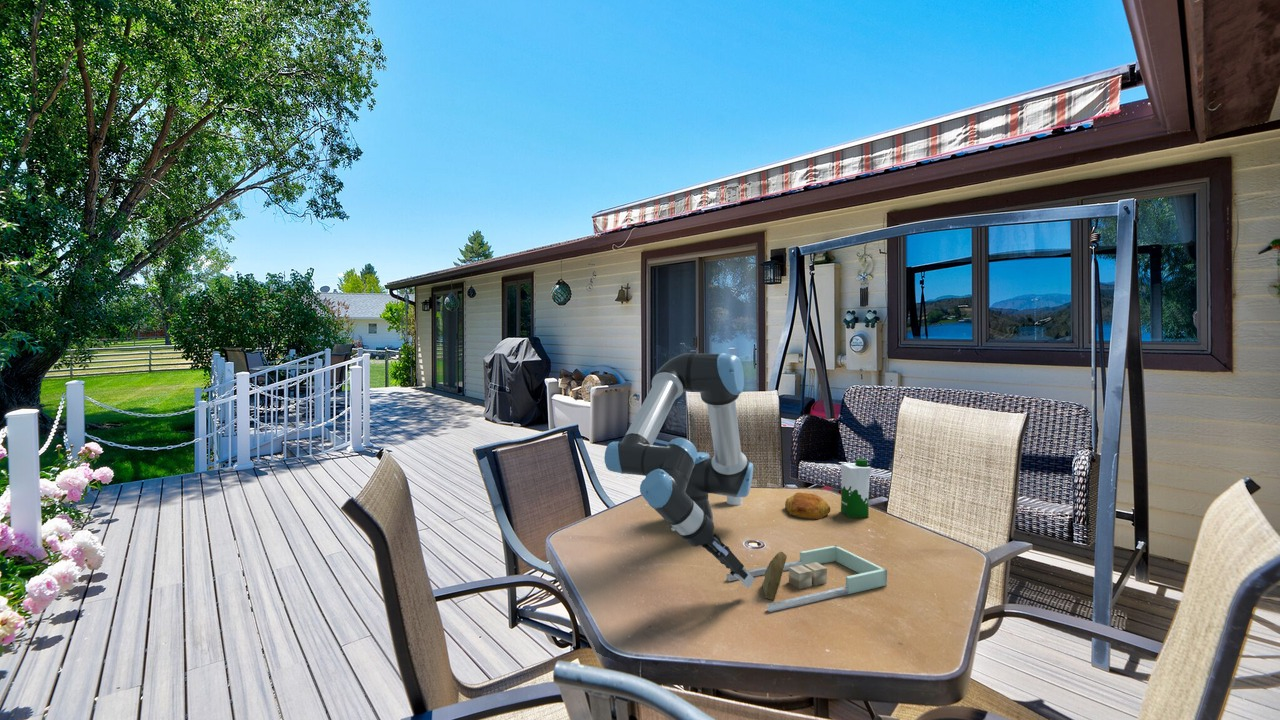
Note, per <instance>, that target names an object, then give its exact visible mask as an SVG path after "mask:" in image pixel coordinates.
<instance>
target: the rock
mask: <svg viewBox="0 0 1280 720" xmlns="http://www.w3.org/2000/svg"><path fill="white" fill-rule="evenodd" d="M787 557H788V556H787V554H786V553H785V552H783V551H780V552H777V553H776V554H775V555H774V557H772V559H771V560H770V562H769V563H768V566H766V567H767V569H766V571H765V575H764V579H763V582H762V585H761V586H762V590H763V593H764V598H765V599H769V600H772V601H774V600H775V599H776V595H777V592H778V590H779V587H780V585H781V580H782V577H783V572H784V571H783V569H784V565H785V563H787V559H788V558H787Z"/></svg>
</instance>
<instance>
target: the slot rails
mask: <svg viewBox="0 0 1280 720" xmlns="http://www.w3.org/2000/svg"><path fill="white" fill-rule="evenodd" d="M799 565H802V562H801V561H800V560H797V561H790V562H785V565H784V569H783V572H786V571H789V567H794V566H799ZM767 567H768V566H765V567H759V568H753V569H749V570H747V571H748V572H749V573H750V575H751V576H752V577H753V578H755V577H759V576H765V571H766V569H767ZM726 581H727V582H733V581H740V580H739V579H738V578H737V577H736V576H735V575H731V574H730V573H728V574H726ZM848 592H849V588H847V587H846V585H844V586H842V587H837V588H832V589H828V590H823V591H820V592H814V593H811V594H805V595H801V596H796V597H792V598H787V599H784V600H779V601H774V602H771V603H767V604H766V611H767V612H769V613H773V612H777V611H781V610H786V609H789V608H795V607H798V606H803V605H808V604H812V603H815V602H819V601H825V600H829V599H834V598H838V597H841V596H847V595H849V594H848Z"/></svg>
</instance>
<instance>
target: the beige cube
mask: <svg viewBox="0 0 1280 720" xmlns="http://www.w3.org/2000/svg"><path fill="white" fill-rule="evenodd" d="M804 567H806V568H807V569H809V570H811V571H812V586H818V585H824V584H827V583H828V581H827V579H828V568H827V567H826V566H824V565H822V564H819V563H817V562H815V563H809V564H804Z"/></svg>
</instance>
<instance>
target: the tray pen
mask: <svg viewBox="0 0 1280 720" xmlns="http://www.w3.org/2000/svg"><path fill="white" fill-rule="evenodd" d="M799 561H801V562H802V566H804V564H809V563H815V562H817V563H819V564H821V565H822V564H826V563H831V562H837V563H838V564H841V565H842V566H845V567H847V568H848V569H850V570H852V571H854V572H856V573H857V574H852V575H848V576H846V577H845V586H846V587H847V588H849V592H848V594H847V595H850V594H855V593H858V592H860V593H861V592H863V591H867V590H871V589H873V590H874V589H876V588H880V587H885V586H887V585H888V584H887V583H888V581H887V580H888V569H885V568H884V567H882V566H880V565H878V564H875V563H873V562H872V561H870V560H867V559H865V558H863V557H861V556H858V555H857V554H855V553H853V552H850V551H849V550H847V549H845V548H842V547H840V546H838V545H830V546H825V547H819V548H814V549H808V550H803V551H799Z"/></svg>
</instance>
